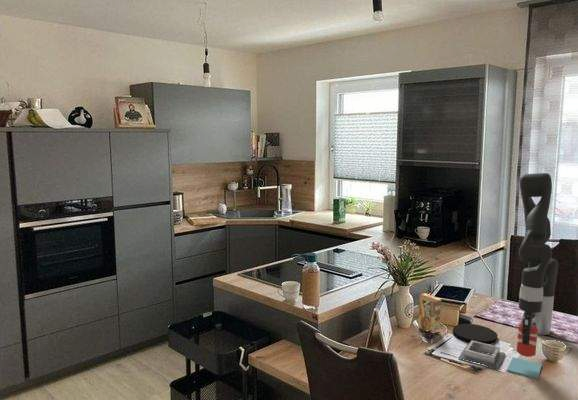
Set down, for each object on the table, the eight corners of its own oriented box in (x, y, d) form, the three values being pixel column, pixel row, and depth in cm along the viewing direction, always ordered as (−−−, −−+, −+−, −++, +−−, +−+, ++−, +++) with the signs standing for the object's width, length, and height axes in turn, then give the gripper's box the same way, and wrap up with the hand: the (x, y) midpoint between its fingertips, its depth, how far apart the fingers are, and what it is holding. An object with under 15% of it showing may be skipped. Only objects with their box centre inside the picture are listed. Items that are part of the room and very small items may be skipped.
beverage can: (533, 351, 176) (536, 320, 174) (536, 359, 170) (539, 327, 169) (515, 348, 178) (518, 318, 176) (517, 356, 172) (520, 325, 170)
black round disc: (453, 342, 197) (453, 337, 196) (451, 325, 214) (452, 321, 213) (499, 348, 192) (500, 343, 191) (494, 331, 209) (494, 326, 208)
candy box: (439, 332, 205) (442, 298, 203) (433, 334, 203) (435, 300, 201) (423, 325, 212) (425, 292, 210) (417, 327, 210) (419, 294, 208)
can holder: (467, 345, 193) (468, 337, 192) (504, 355, 185) (505, 346, 185) (458, 359, 181) (459, 350, 181) (497, 369, 174) (498, 360, 173)
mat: (512, 358, 183) (512, 356, 182) (541, 365, 177) (541, 364, 177) (507, 371, 173) (507, 369, 173) (537, 379, 167) (537, 377, 167)
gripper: (522, 289, 179) (518, 331, 181) (516, 300, 167) (512, 345, 170) (544, 293, 175) (540, 336, 177) (540, 305, 163) (535, 351, 165)
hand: (526, 340), depth 173 cm, fingers closed on beverage can, 6 cm apart
